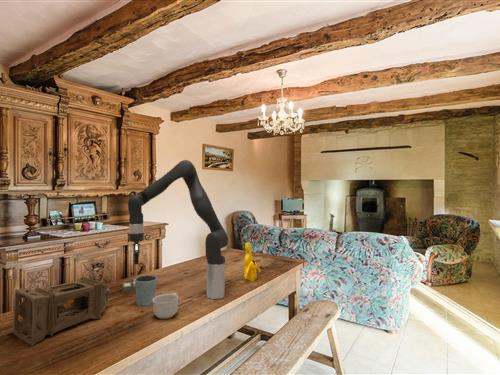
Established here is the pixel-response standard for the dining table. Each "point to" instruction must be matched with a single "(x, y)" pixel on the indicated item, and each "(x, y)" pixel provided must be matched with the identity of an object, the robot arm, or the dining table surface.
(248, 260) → the figure statuette
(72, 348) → the dining table surface
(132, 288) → the key console
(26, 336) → the brown lantern
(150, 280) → the grey-green tumbler
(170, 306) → the teacup
